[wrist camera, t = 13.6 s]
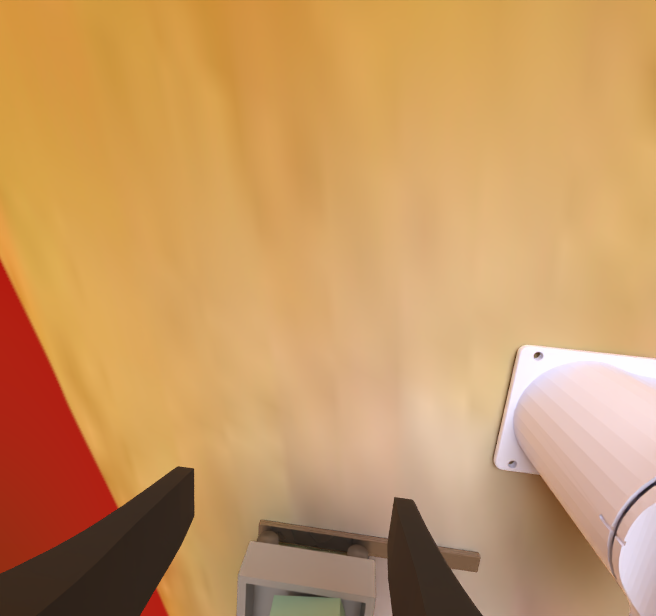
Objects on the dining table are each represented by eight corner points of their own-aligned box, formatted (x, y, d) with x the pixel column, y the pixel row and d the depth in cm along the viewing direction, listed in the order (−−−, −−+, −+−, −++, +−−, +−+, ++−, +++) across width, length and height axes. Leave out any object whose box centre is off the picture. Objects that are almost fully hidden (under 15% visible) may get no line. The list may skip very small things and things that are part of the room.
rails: (478, 552, 24) (480, 557, 23) (453, 663, 26) (454, 669, 26) (260, 519, 25) (259, 524, 24) (255, 628, 27) (254, 634, 27)
